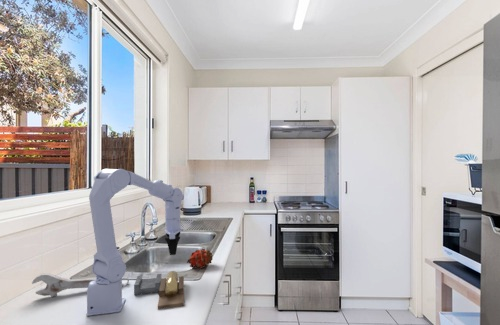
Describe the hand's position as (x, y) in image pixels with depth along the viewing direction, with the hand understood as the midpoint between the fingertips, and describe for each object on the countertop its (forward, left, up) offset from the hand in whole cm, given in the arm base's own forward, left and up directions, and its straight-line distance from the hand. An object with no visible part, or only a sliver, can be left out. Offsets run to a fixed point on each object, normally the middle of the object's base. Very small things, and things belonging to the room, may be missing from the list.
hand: (173, 252), depth 108 cm
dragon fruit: (+11, +9, -11) cm, 18 cm away
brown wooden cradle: (0, -13, -10) cm, 17 cm away
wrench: (-31, -3, -11) cm, 33 cm away
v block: (-8, -7, -10) cm, 15 cm away
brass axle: (0, -11, -7) cm, 13 cm away
